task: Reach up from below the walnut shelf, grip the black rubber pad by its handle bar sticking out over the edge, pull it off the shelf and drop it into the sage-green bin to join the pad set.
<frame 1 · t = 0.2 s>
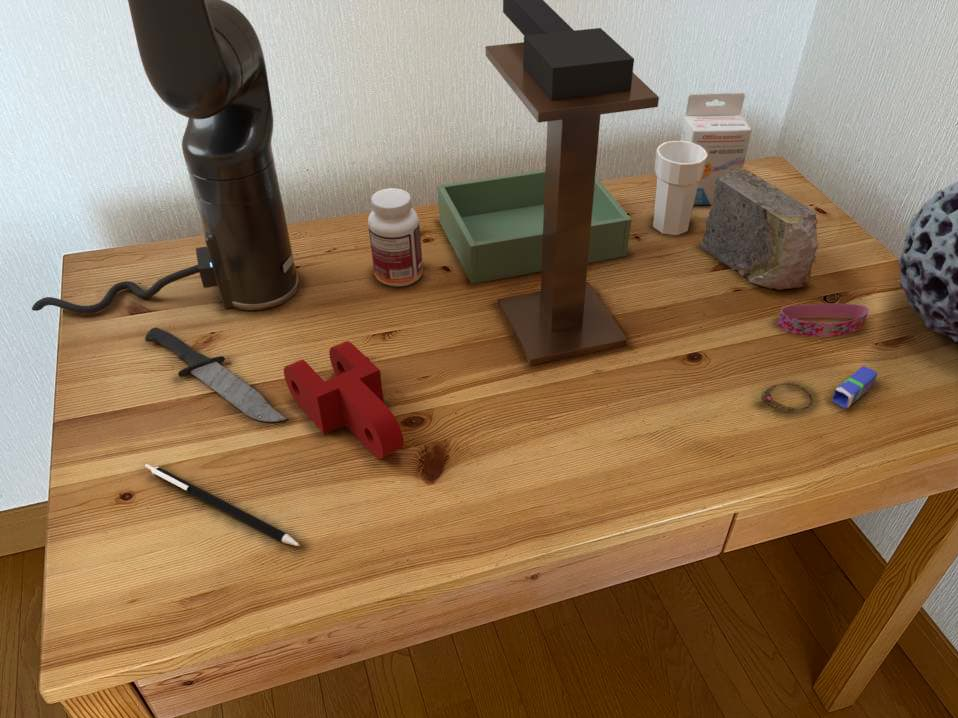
geological specimen: (719, 204, 114), point 5 cm above the table
mechanical linkage: (355, 421, 90), on the table
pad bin: (531, 238, 117), on the table
pen: (224, 505, 81), on the table
shelf stand: (554, 315, 104), on the table
knife: (191, 387, 92), on the table
ink box: (703, 198, 126), on the table
pill bottle: (399, 275, 110), on the table
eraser: (845, 381, 96), point 1 cm above the table
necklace: (784, 400, 95), on the table
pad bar: (576, 78, 82), point 30 cm above the table, touching shelf stand
cup: (670, 226, 120), on the table
headband: (835, 302, 102), point 4 cm above the table
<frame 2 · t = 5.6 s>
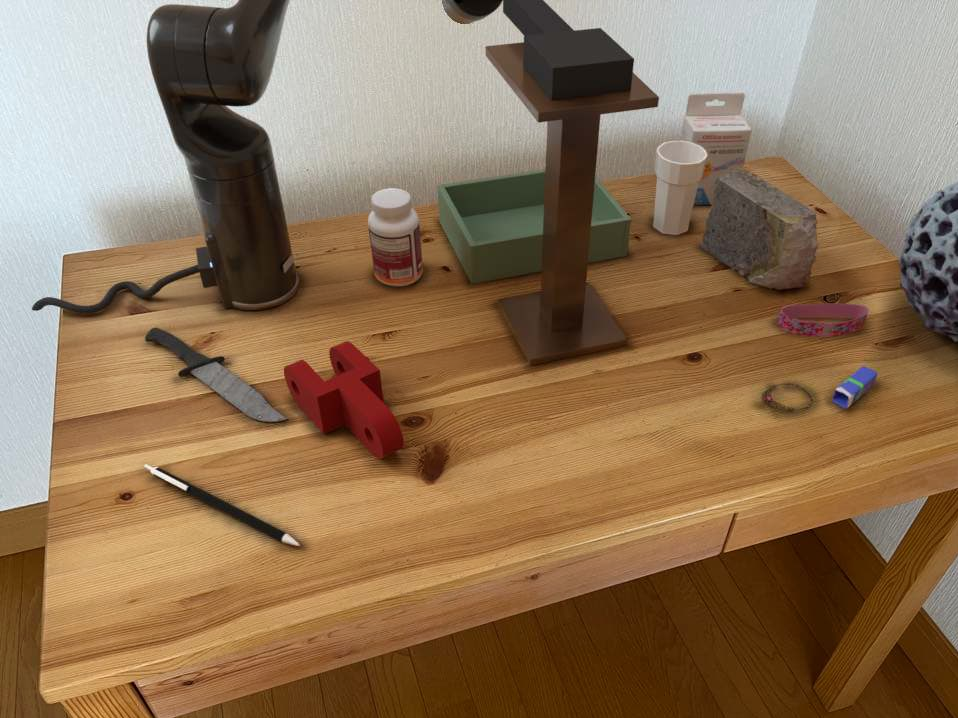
nothing on the table moved.
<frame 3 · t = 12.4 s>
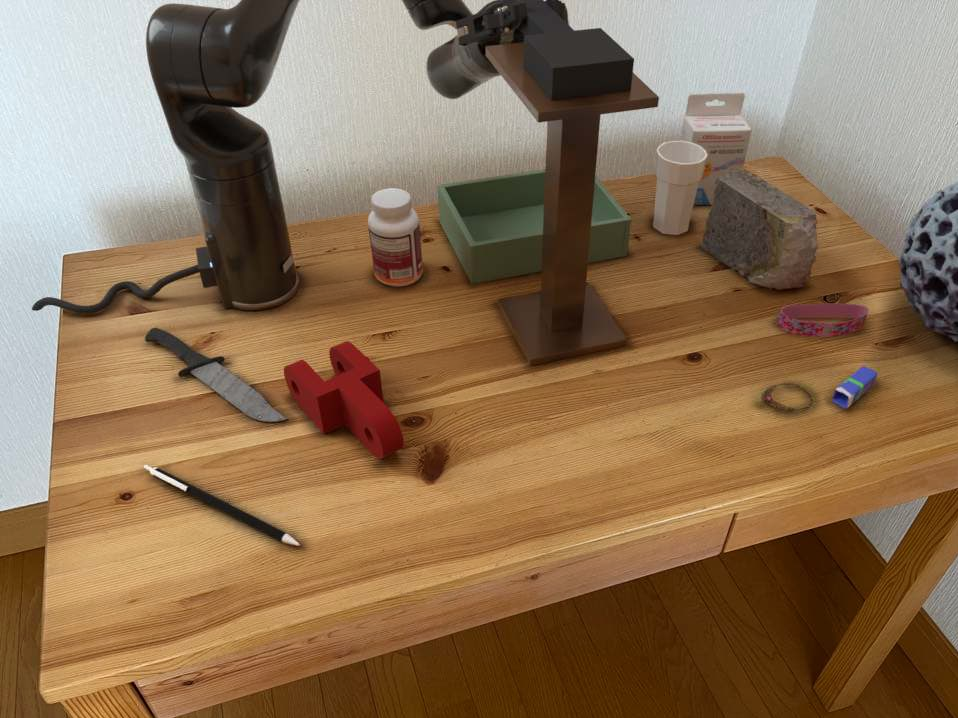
hand: (540, 9, 88), 33 cm above the table, tool pointing upward, fingers closed on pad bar, 3 cm apart
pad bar: (576, 78, 82), point 30 cm above the table, touching gripper, shelf stand
everything else where it was.
when the fingers open (24 cm above the table, at t = 19.4 s): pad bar drops 18 cm, resting on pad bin.
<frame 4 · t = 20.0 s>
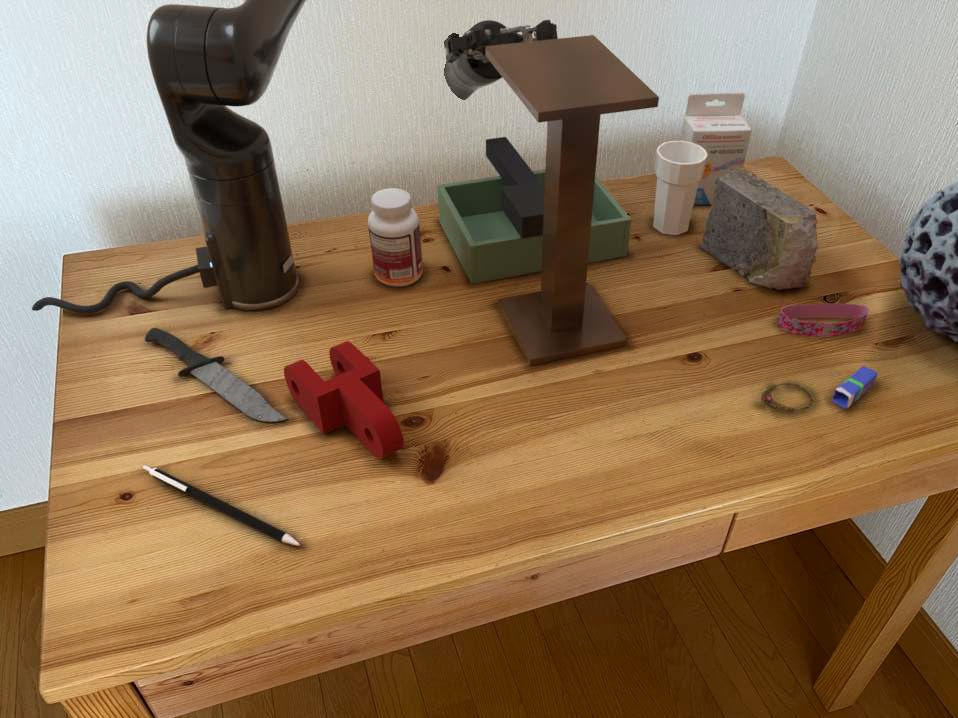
hand: (516, 31, 105), 25 cm above the table, tool pointing upward, fingers open, 8 cm apart
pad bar: (540, 217, 110), point 6 cm above the table, touching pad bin
everything else where it was.
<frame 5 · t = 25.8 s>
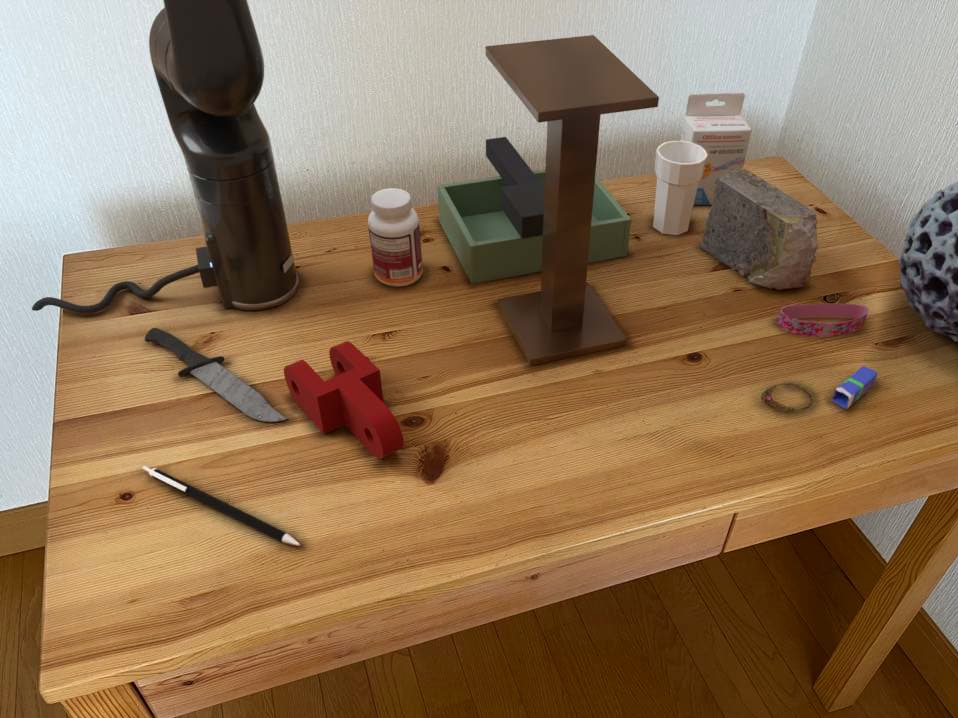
nothing on the table moved.
at the end: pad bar inside the target area in the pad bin (4.0 cm from its centre), point 5.5 cm above the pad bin's base; the gripper is holding nothing; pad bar moved 28.8 cm from its start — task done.
